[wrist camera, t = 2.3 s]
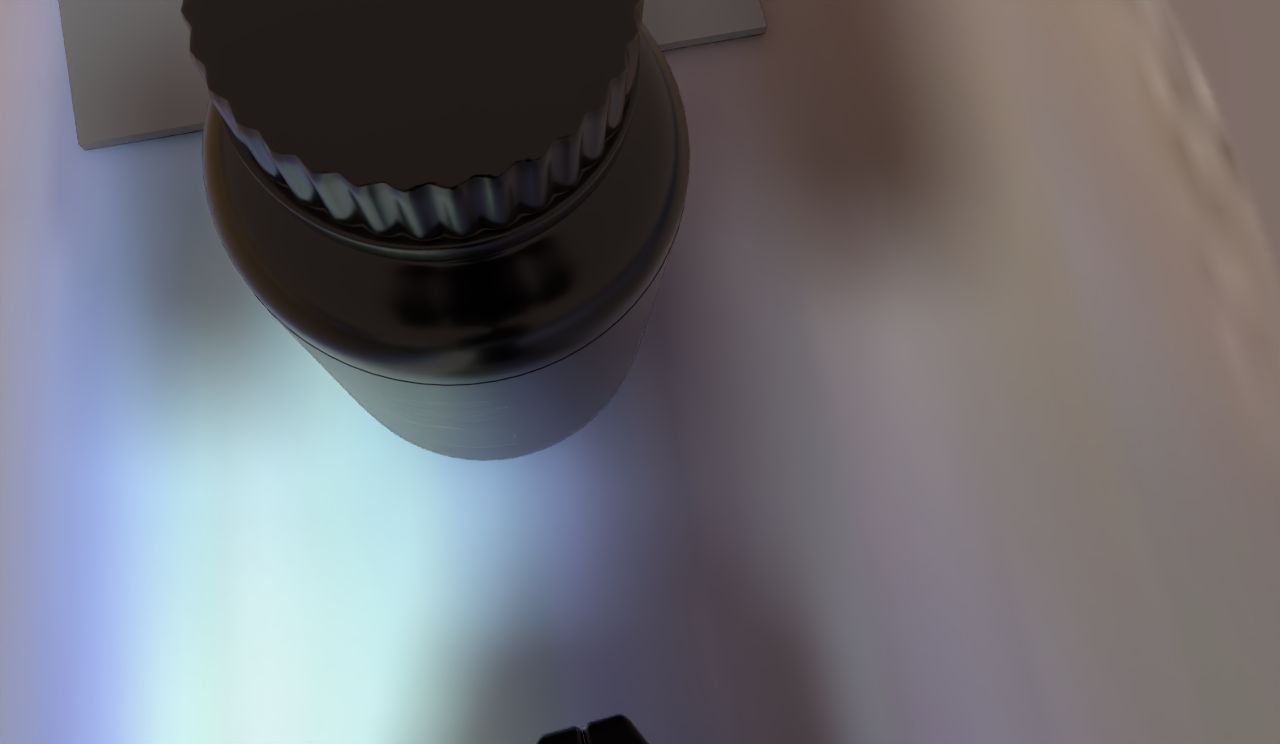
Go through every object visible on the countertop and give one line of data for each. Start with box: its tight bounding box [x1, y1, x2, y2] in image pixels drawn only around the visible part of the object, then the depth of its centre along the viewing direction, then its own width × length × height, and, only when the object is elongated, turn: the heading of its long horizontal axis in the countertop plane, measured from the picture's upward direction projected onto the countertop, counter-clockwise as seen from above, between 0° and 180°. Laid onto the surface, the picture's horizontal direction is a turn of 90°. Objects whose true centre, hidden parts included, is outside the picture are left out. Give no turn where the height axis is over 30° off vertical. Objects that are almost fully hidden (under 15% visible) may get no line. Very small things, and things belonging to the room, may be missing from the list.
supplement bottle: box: [181, 0, 690, 460], centre depth 16 cm, size 7×7×12 cm
